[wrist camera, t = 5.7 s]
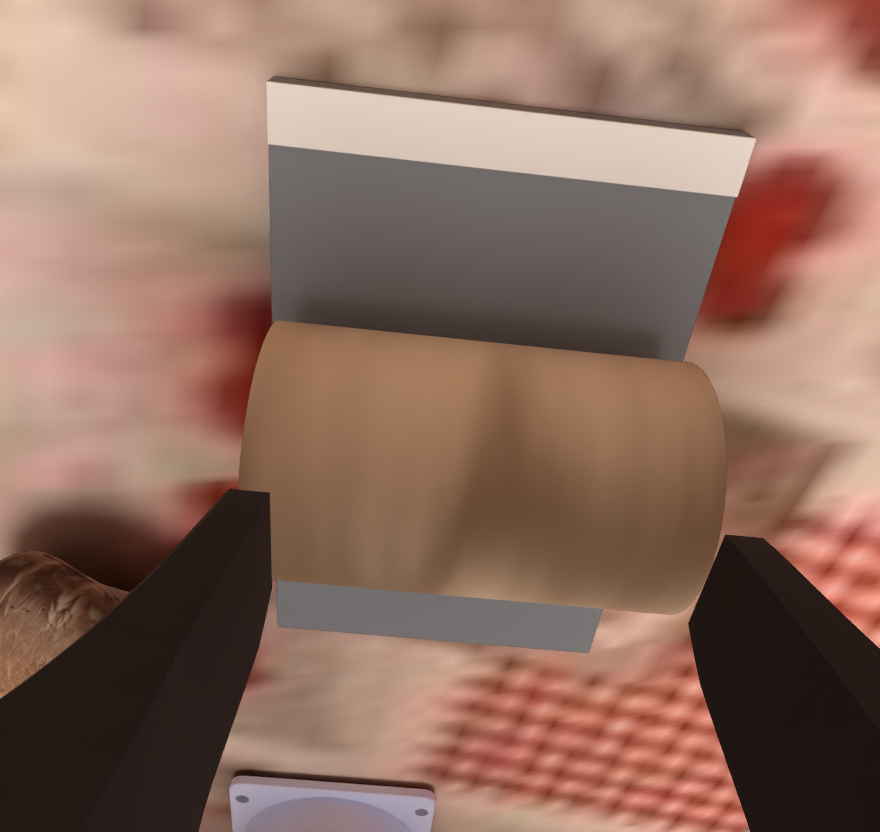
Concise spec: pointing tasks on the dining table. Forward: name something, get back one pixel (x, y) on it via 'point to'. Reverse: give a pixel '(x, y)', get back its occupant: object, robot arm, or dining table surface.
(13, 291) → the dining table surface
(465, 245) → the grey board
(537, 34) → the dining table surface
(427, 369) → the roller
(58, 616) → the mushroom
